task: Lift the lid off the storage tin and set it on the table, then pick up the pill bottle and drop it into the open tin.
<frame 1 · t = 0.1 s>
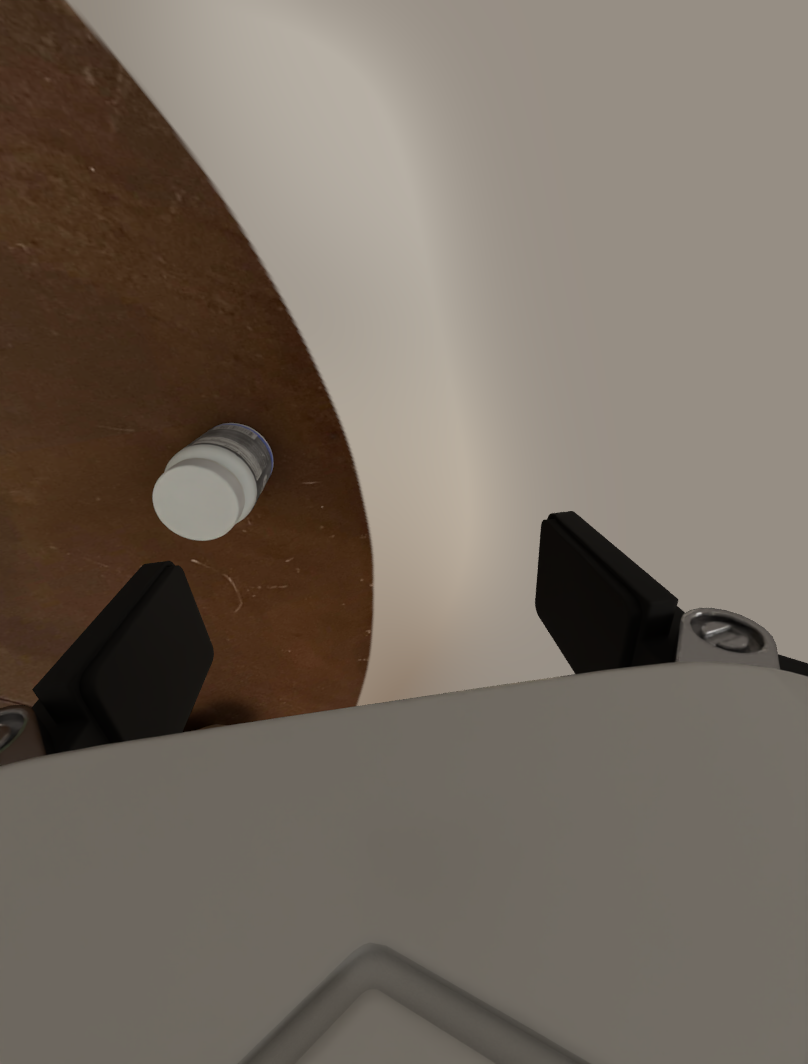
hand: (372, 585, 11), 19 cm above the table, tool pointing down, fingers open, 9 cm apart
pill bottle: (239, 456, 28), on the table
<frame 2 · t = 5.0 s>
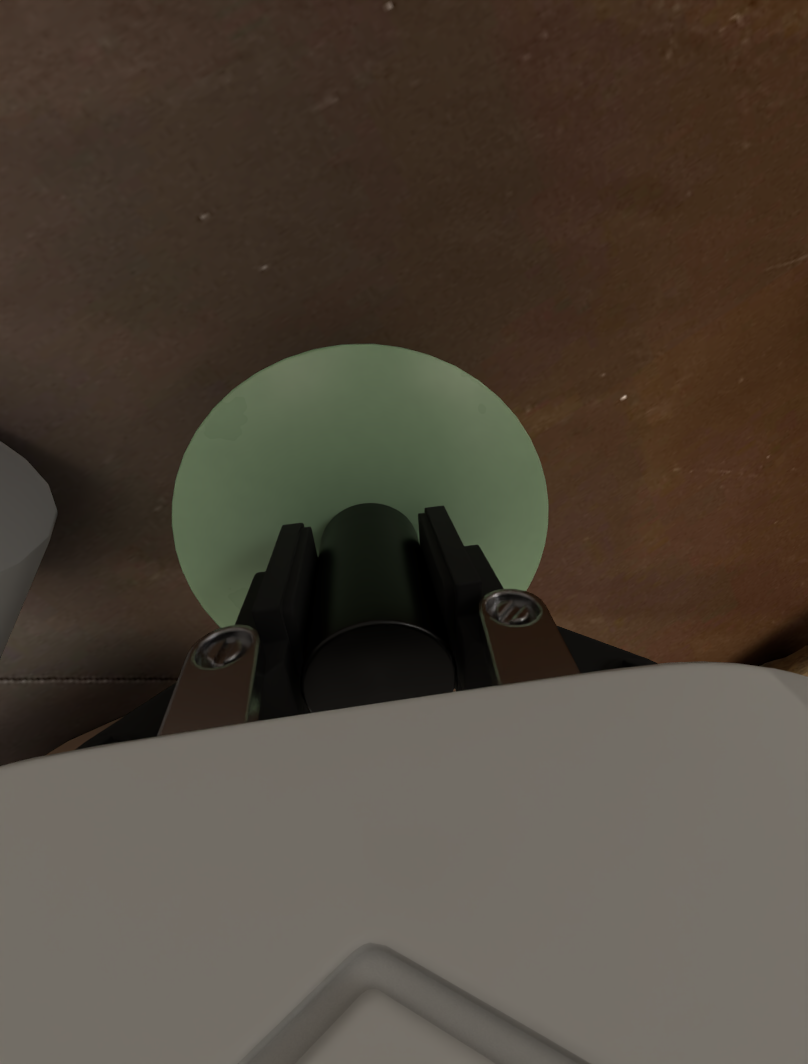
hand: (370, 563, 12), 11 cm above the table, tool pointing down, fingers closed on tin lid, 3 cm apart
bowl: (169, 768, 31), on the table
tin lid: (369, 539, 13), point 10 cm above the table, touching gripper, storage tin
oil lamp: (771, 672, 33), on the table
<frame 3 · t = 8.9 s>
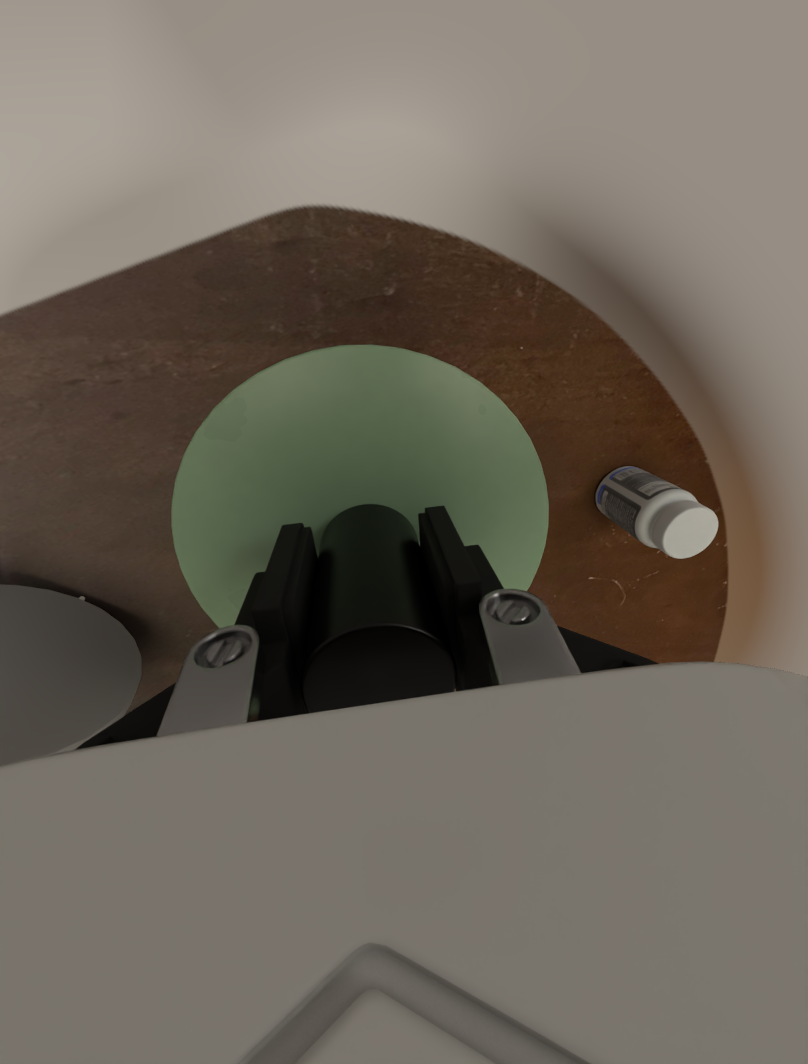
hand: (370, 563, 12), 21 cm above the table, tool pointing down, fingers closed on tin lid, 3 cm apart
alarm clock: (74, 615, 35), on the table
tin lid: (369, 540, 13), point 20 cm above the table, touching gripper
pill bottle: (619, 490, 36), on the table
when the fingers open (2 cm above the table, at t = 13.2 s): tin lid stays where it is, point 1 cm above the table.
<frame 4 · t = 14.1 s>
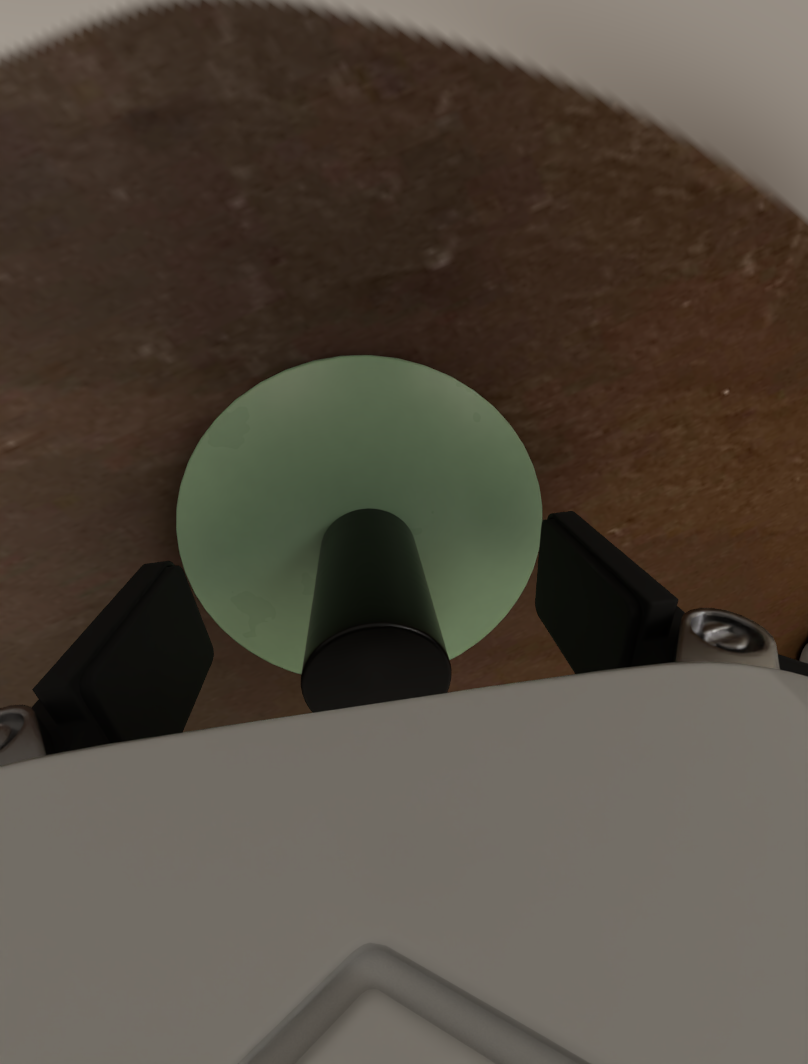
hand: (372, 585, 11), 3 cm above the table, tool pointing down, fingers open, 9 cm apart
tin lid: (368, 543, 13), point 1 cm above the table
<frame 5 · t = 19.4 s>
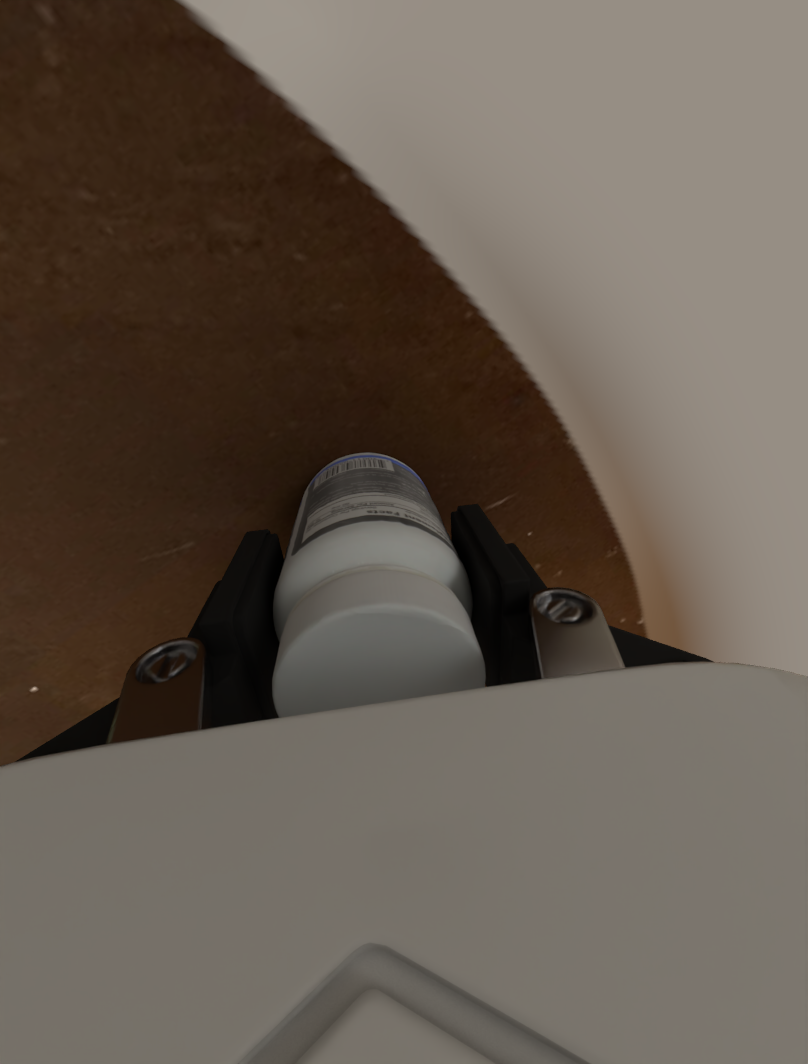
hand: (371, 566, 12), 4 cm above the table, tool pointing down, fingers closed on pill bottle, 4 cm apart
pill bottle: (367, 510, 15), on the table, touching gripper
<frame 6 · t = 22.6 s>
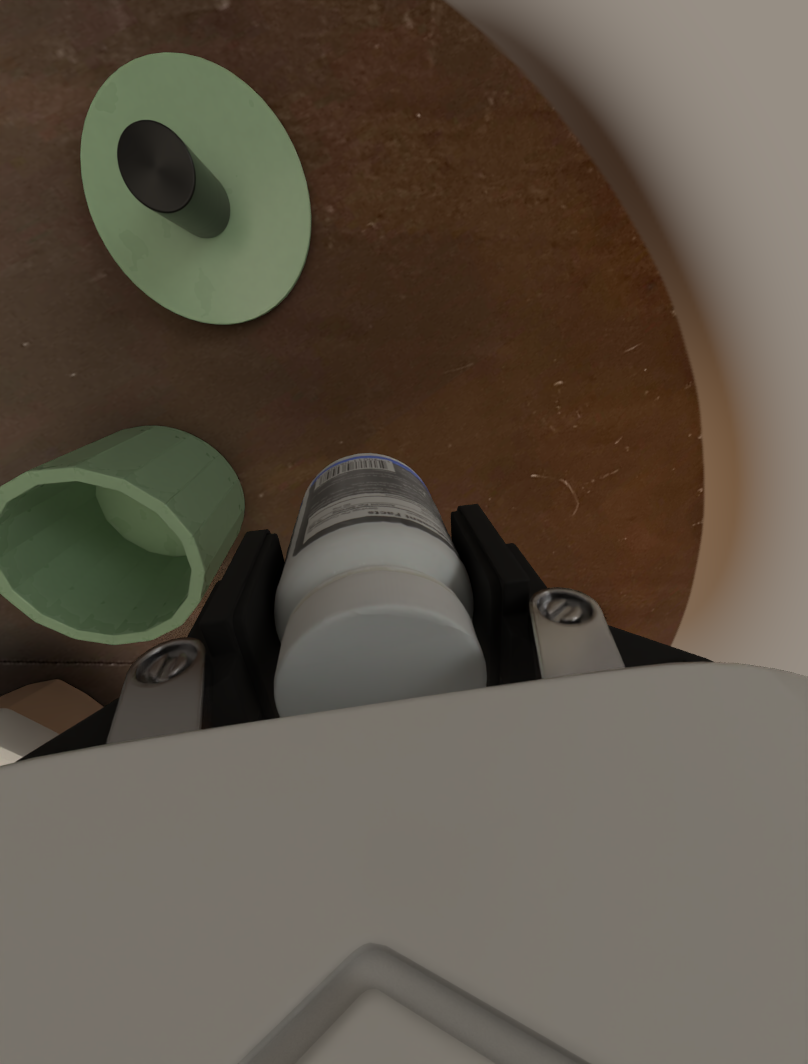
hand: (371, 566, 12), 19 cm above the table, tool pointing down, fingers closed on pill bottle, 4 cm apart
bowl: (57, 735, 39), on the table
storage tin: (169, 498, 30), on the table
tin lid: (204, 206, 22), point 1 cm above the table
pill bottle: (368, 511, 15), point 15 cm above the table, touching gripper
when the fingers open (12 cm above the table, at t = 26.2 s): pill bottle drops 8 cm, resting on storage tin.
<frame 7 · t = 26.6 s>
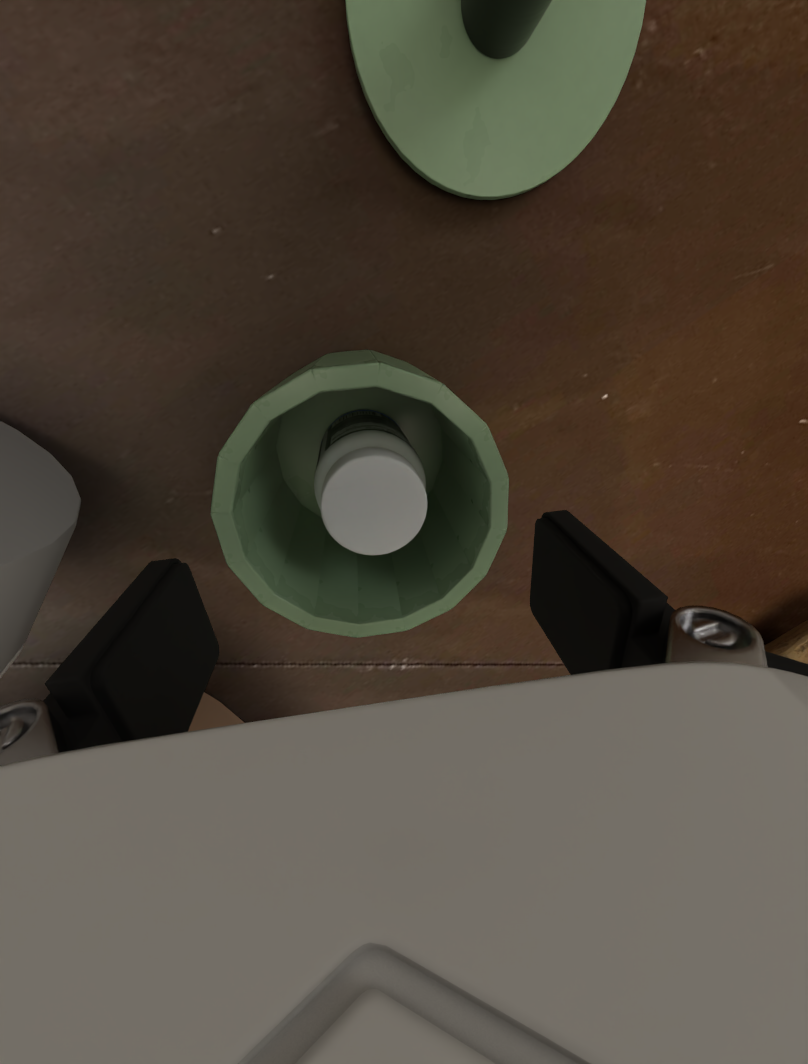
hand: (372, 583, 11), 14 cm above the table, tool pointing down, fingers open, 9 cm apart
bowl: (177, 752, 32), on the table
storage tin: (361, 451, 23), on the table
tin lid: (496, 12, 16), point 1 cm above the table
oil lamp: (752, 660, 35), on the table
pill bottle: (364, 450, 23), resting on storage tin
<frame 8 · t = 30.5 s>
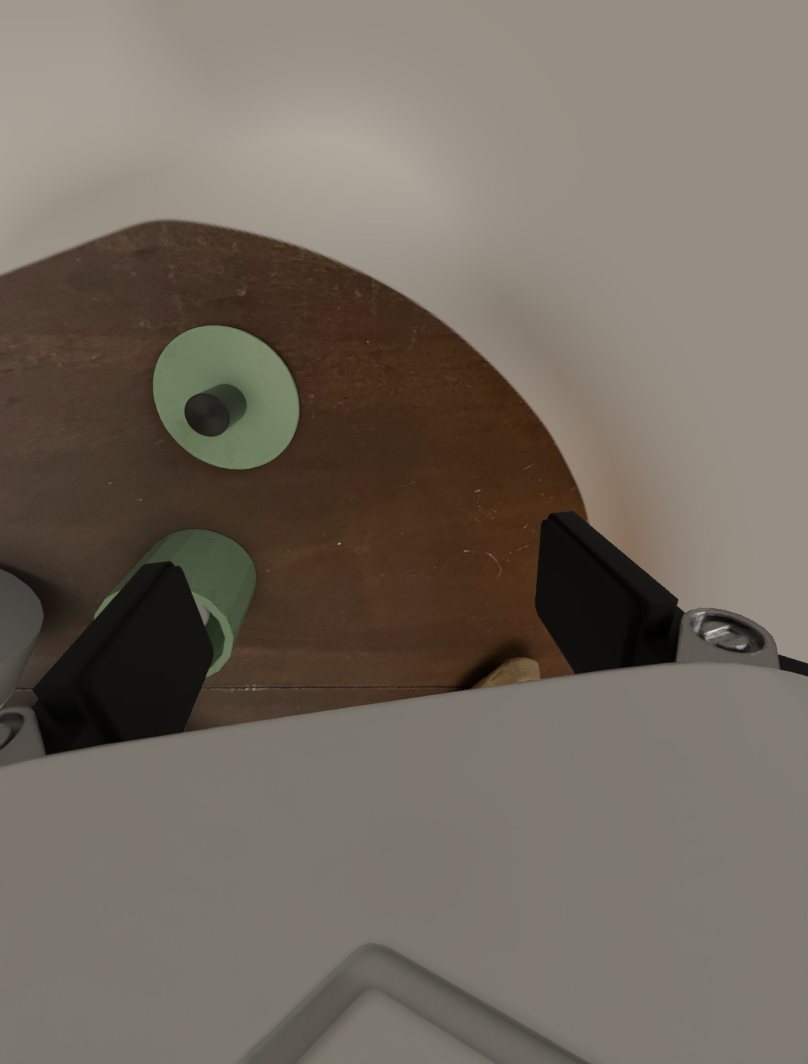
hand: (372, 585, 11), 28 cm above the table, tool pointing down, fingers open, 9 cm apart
storage tin: (203, 574, 42), on the table
tin lid: (229, 401, 34), point 1 cm above the table
oil lamp: (493, 683, 54), on the table
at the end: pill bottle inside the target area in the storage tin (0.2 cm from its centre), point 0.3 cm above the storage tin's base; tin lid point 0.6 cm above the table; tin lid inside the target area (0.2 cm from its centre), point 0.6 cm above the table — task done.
